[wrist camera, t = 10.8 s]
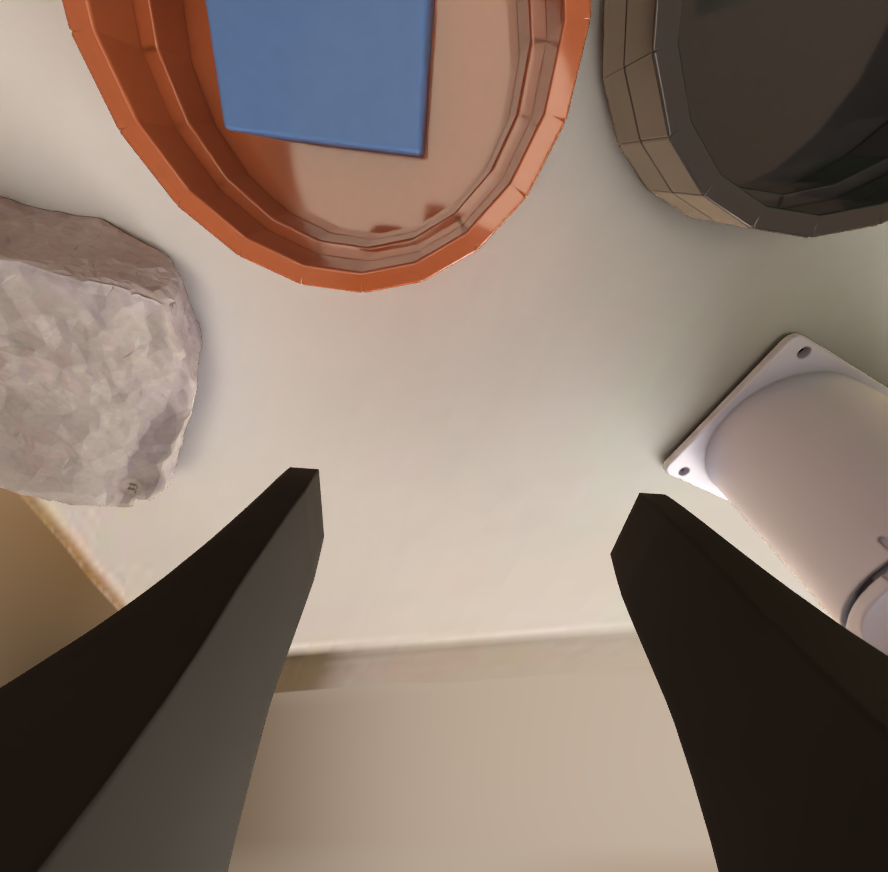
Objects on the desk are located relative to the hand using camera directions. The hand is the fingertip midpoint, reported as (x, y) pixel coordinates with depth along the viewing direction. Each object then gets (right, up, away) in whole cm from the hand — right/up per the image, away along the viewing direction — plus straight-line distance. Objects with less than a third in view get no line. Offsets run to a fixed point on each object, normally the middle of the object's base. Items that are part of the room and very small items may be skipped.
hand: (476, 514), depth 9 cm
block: (-3, +13, +3) cm, 14 cm away
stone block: (-16, +5, +8) cm, 19 cm away
